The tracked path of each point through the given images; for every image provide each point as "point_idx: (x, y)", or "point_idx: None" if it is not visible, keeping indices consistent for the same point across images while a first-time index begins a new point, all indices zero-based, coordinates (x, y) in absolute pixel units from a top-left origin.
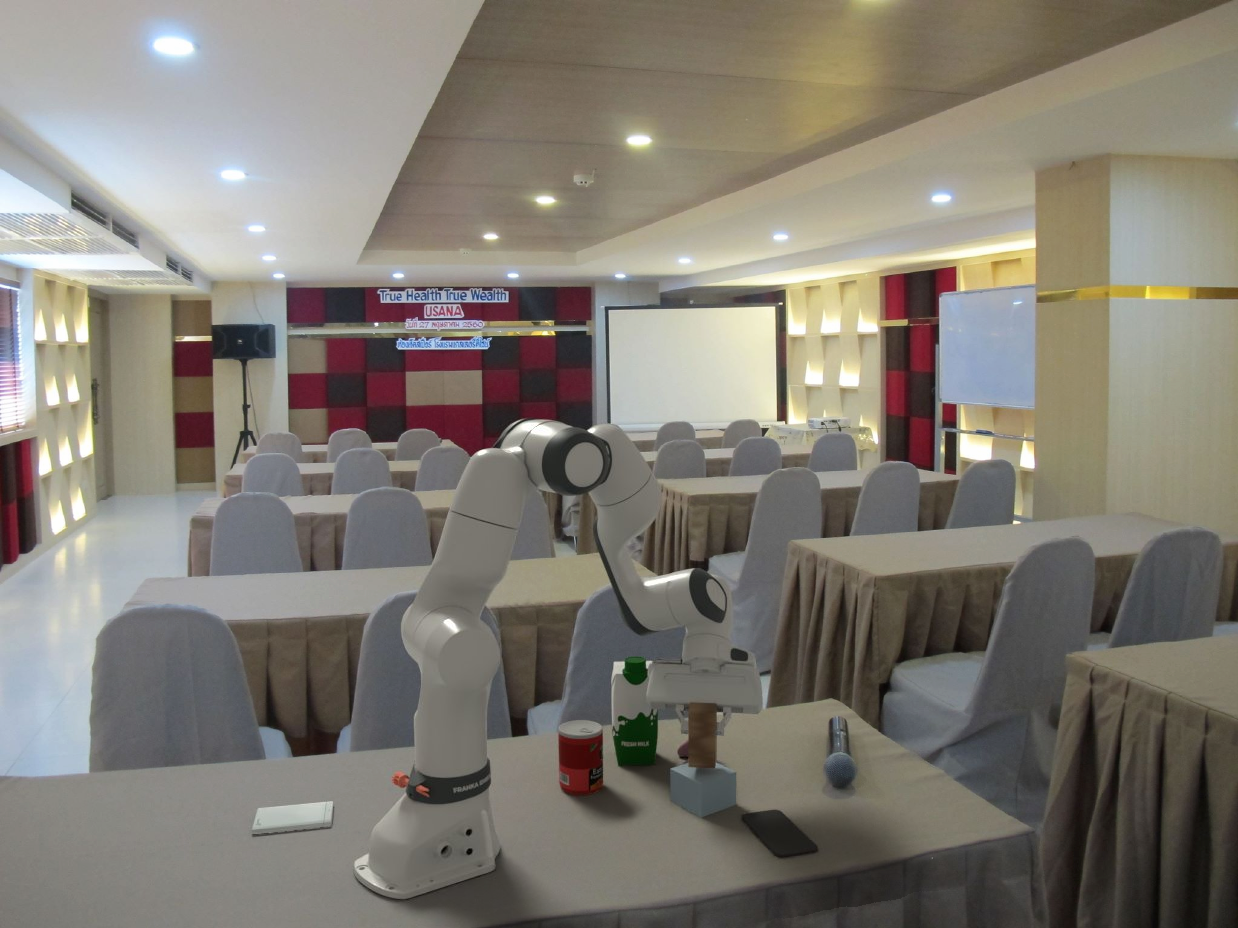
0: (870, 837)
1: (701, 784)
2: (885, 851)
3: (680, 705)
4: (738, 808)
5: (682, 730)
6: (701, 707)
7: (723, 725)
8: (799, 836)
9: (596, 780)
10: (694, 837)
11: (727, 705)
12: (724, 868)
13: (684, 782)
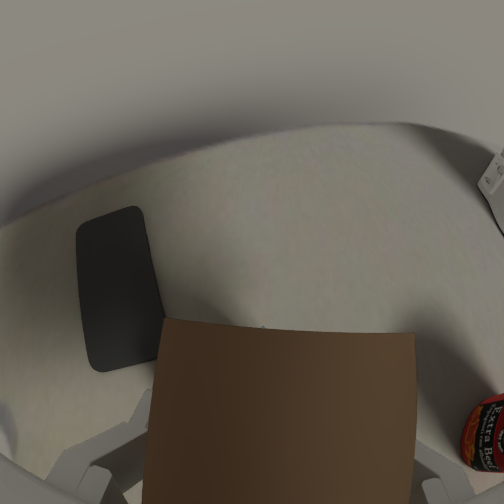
0: (9, 269)
1: (262, 327)
2: (14, 234)
3: (451, 502)
4: None
5: None
6: (302, 416)
7: (139, 410)
8: (88, 261)
9: (481, 416)
10: (271, 263)
11: (59, 486)
12: (224, 179)
13: None
